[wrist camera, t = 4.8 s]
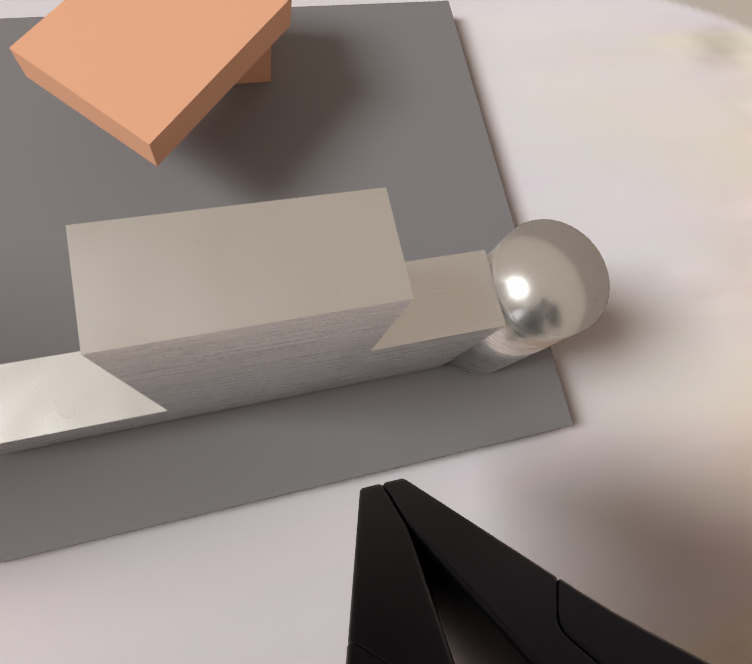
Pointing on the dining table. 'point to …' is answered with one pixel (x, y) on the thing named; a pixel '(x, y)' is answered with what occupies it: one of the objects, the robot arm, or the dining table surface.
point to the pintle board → (234, 187)
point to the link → (285, 311)
